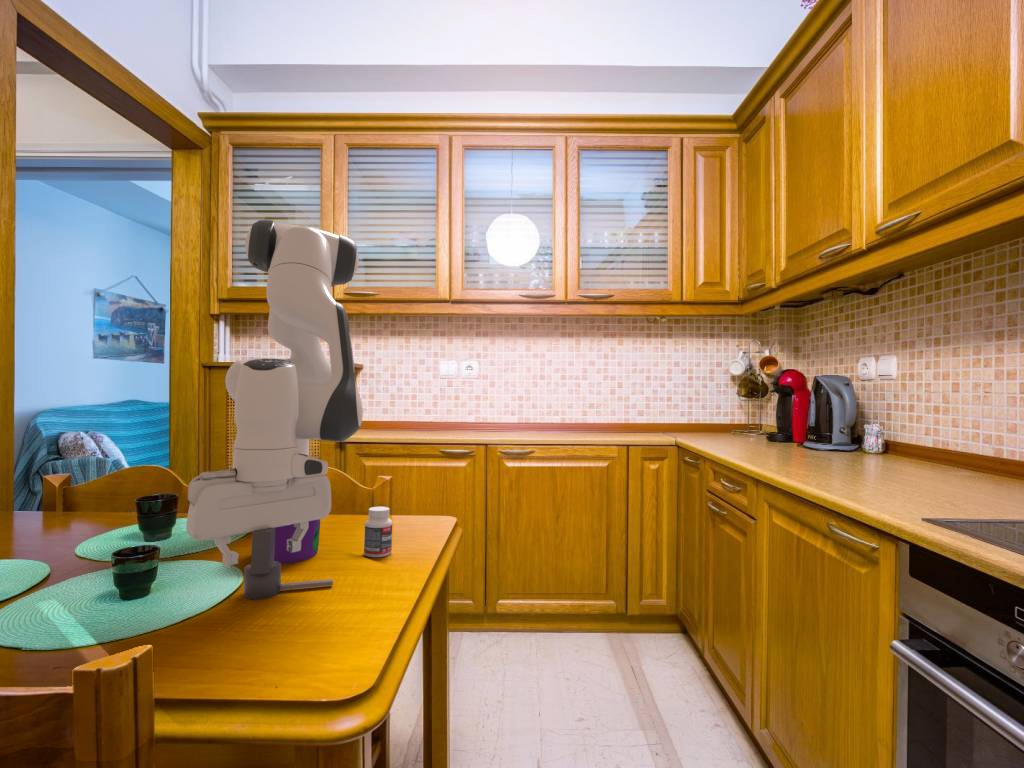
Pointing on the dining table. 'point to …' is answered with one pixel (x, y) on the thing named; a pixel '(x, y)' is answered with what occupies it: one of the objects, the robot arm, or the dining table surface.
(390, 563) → the dining table surface
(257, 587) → the grey block with rod
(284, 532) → the mug
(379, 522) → the pill bottle
